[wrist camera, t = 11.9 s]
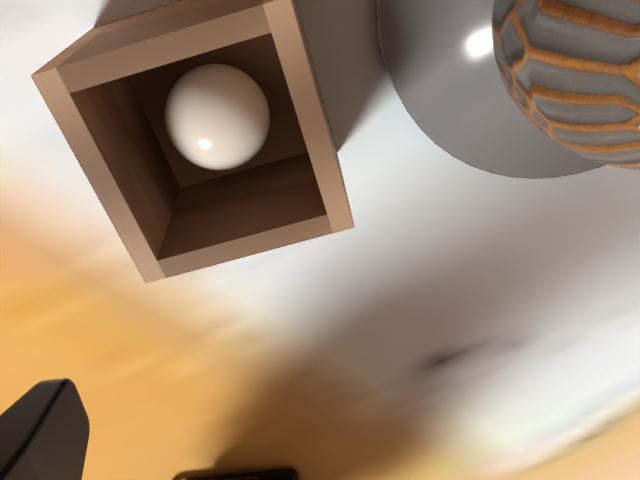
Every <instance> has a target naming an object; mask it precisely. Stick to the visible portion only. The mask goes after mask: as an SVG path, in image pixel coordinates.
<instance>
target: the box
mask: <svg viewBox="0 0 640 480" xmlns="http://www.w3.org/2000/svg"><path fill="white" fill-rule="evenodd" d="M207 64H224V65H229V66H232V67H235V68H237V69H239V70H241V71H243V72H245V73H246V74H248V75H249V76H250V77H251V78H252V79H254V81H255V82H256V83H257V84H258V85H259V87H260V88H261V90H262V91H263V93H264V95H265V97H266V99H267V102H268V106H269V111H270V127H269V132H268V136H267V138H266V141H265V143H264V145H263V146H262V148H261V149H260V151H259V152H258V153H257V154H256V155H255V156H254V157H253V158H252V159H251V160H250V161H248V162H246V163H245V164H243V165H241V166H239V167H236V168H233V169H228V170H211V169H206V168H203V167H200V166H197V165H195V164H193V163H192V162H190V161H188V160H187V159H186V158H184V157H183V156H182V155H181V154H180V153H179V152H178V150H177V149H176V148H175V147H174V145H173V143H172V142H171V140H170V138H169V136H168V133H167V130H166V125H165V116H164V112H165V105H166V101H167V97H168V95H169V92H170V90H171V89H172V87H173V86H174V84H175V83H176V82H177V81H178V79H179V78H180V77H182V76H183V75H184V74H185V73H187V72H188V71H190V70H192V69H194V68H196V67H199V66H202V65H207ZM31 77H32V79H33V81H34V82H35V84H36V86H37V88H38V90H39V92H40V93H41V95H42V97H43V99H44V101H45V102H46V104H47V106H48V108H49V110H50V111H51V113H52V115H53V117H54V119H55V120H56V122H57V124H58V126H59V128H60V130H61V131H62V133H63V135H64V137H65V139H66V140H67V142H68V144H69V146H70V148H71V149H72V151H73V153H74V155H75V157H76V158H77V160H78V162H79V164H80V166H81V168H82V169H83V171H84V173H85V175H86V177H87V178H88V180H89V182H90V184H91V186H92V187H93V189H94V191H95V193H96V195H97V197H98V198H99V200H100V202H101V204H102V206H103V207H104V209H105V211H106V213H107V215H108V216H109V218H110V220H111V222H112V224H113V225H114V227H115V229H116V231H117V233H118V235H119V236H120V238H121V240H122V242H123V244H124V245H125V247H126V249H127V251H128V253H129V254H130V256H131V258H132V260H133V262H134V263H135V265H136V267H137V269H138V271H139V273H140V274H141V276H142V278H143V280H144V282H145V283H149V282H153V281H157V280H160V279H164V278H168V277H172V276H175V275H179V274H183V273H187V272H190V271H194V270H198V269H201V268H205V267H209V266H213V265H216V264H220V263H224V262H227V261H231V260H235V259H239V258H242V257H246V256H250V255H253V254H257V253H261V252H265V251H268V250H272V249H276V248H280V247H283V246H287V245H291V244H294V243H298V242H302V241H306V240H309V239H313V238H317V237H320V236H324V235H328V234H332V233H335V232H339V231H343V230H347V229H350V228H354V223H353V218H352V214H351V210H350V206H349V201H348V197H347V193H346V189H345V184H344V180H343V176H342V172H341V167H340V163H339V159H338V155H337V151H336V147H335V144H334V140H333V136H332V133H331V129H330V126H329V122H328V118H327V115H326V111H325V108H324V104H323V100H322V97H321V93H320V90H319V86H318V82H317V79H316V75H315V72H314V68H313V64H312V61H311V57H310V54H309V50H308V46H307V43H306V39H305V35H304V32H303V28H302V25H301V21H300V17H299V14H298V10H297V7H296V3H295V0H182V1H179V2H176V3H172V4H169V5H166V6H163V7H160V8H156V9H153V10H150V11H147V12H143V13H140V14H137V15H134V16H131V17H127V18H124V19H121V20H118V21H115V22H111V23H108V24H105V25H102V26H99V27H95V28H92V29H91V30H90V31H88V32H87V33H86V34H84V35H83V36H82V37H81V38H79V39H78V40H77V41H75V42H74V43H73V44H71V45H70V46H69V47H67V48H66V49H65V50H64V51H62V52H61V53H60V54H58V55H57V56H56V57H54V58H53V59H52V60H50V61H49V62H48V63H47V64H45V65H44V66H43V67H41V68H40V69H39V70H37V71H36V72H35V73H33V74H32V75H31Z"/></svg>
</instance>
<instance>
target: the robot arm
mask: <svg viewBox="0 0 640 480" xmlns="http://www.w3.org/2000/svg"><path fill="white" fill-rule="evenodd" d="M89 429H90V428H89V419H88V416H87V413H86V411H85V408H84V406H83V403H82V401H81V398H80V396H79V393H78V391H77V388H76V386H75V384H74V382H73V381H72V380H70V379H67V378H64V379H53V380H44V381H41V382H39V383H37V384H36V385H35V386H33V387H32V388H31V389H30V390H29V391H28V392H26V393H25V394H24V395H23V396H22V397H21V398H20V399H18V400H17V401H16V402H15V403H14V404H13V405H11V406H10V407H9V408H8V409H7V410H6V411H5V412H3V413H2V414H1V415H0V480H81V479H82V474H83V468H84V462H85V456H86V450H87V444H88V439H89ZM197 480H300V477H299V473H298V471H296V470H294V469H282V470H273V471H265V472H256V473H248V474H239V475H231V476H222V477H214V478H205V479H197Z"/></svg>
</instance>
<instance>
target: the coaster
mask: <svg viewBox="0 0 640 480" xmlns="http://www.w3.org/2000/svg"><path fill="white" fill-rule="evenodd" d="M493 6H494V0H377V1H376V15H377V25H378V35H379V42H380V46H381V50H382V55H383V59H384V63H385V66H386V69H387V71H388V74H389V77H390V79H391V82H392V84H393V87H394V88H395V90H396V92H397V94H398V96H399V98H400V99H401V101H402V103H403V105H404V107H405V108H406V110H407V112H408V113H409V114H410V116H411V117H412V118H413V120H414V121H415V122H416V124H417V125H418V126H419V127H420V129H421V130H422V131H423V132H424V133H425V134H426V135H427V136H428V137H429V138H430V139H431V140H432V141H433V142H434V143H435V144H437V145H438V146H439V147H441V148H442V149H443V150H445V151H446V152H448V153H449V154H450V155H452V156H453V157H455V158H457V159H459V160H461V161H463V162H465V163H467V164H468V165H470V166H473V167H476V168H478V169H481V170H484V171H487V172H490V173H494V174H499V175H504V176H509V177H517V178H531V179H536V178H554V177H561V176H567V175H572V174H578V173H581V172H585V171H588V170H592V169H595V168H599V167H602V166H604V165H607V164H604V163H600V162H597V161H594V160H591V159H588V158H585V157H583V156H580V155H578V154H576V153H574V152H572V151H570V150H568V149H566V148H564V147H562V146H560V145H559V144H557V143H556V142H554V141H553V140H551V139H550V138H549V137H547V136H546V135H545V134H544V133H542V132H541V131H540V130H539V129H538V128H537V127H536V126H535V125H534V124H533V123H532V122H531V121H530V120H529V119H528V118H527V117H526V116H525V115H524V114H523V113H522V111H521V110H520V109H519V108H518V106H517V105H516V104H515V102H514V101H513V99H512V98H511V96H510V95H509V93H508V91H507V89H506V87H505V85H504V83H503V81H502V78H501V76H500V73H499V70H498V67H497V64H496V60H495V55H494V50H493V42H492V13H493Z"/></svg>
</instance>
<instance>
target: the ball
mask: <svg viewBox="0 0 640 480" xmlns="http://www.w3.org/2000/svg"><path fill="white" fill-rule="evenodd" d="M164 116H165V125H166V130H167V133H168V136H169V138H170V140H171V142H172V143H173V145H174V147H175V148H176V149H177V150H178V152H179V153H180V154H181V155H182V156H183V157H184V158H186V159H187V160H188V161H190V162H192V163H193V164H195V165H197V166H200V167H203V168H206V169H211V170H228V169H233V168H236V167H239V166H241V165H243V164H245V163H246V162H248V161H250V160H251V159H252V158H253V157H254V156H255V155H256V154H257V153H258V152H259V151H260V149H261V148H262V146H263V145H264V143H265V141H266V138H267V136H268V132H269V127H270V111H269V106H268V102H267V99H266V97H265V95H264V93H263V91H262V90H261V88H260V87H259V85H258V84H257V83H256V82H255V81H254V79H252V78H251V77H250V76H249V75H248V74H246V73H245V72H243V71H241V70H239V69H237V68H235V67H232V66H229V65H224V64H207V65H202V66H199V67H196V68H194V69H192V70H190V71H188V72H187V73H185V74H184V75H183V76H182V77H180V78H179V79H178V81H177V82H176V83H175V84H174V86H173V87H172V89H171V90H170V92H169V95H168V97H167V101H166V105H165V112H164Z"/></svg>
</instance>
